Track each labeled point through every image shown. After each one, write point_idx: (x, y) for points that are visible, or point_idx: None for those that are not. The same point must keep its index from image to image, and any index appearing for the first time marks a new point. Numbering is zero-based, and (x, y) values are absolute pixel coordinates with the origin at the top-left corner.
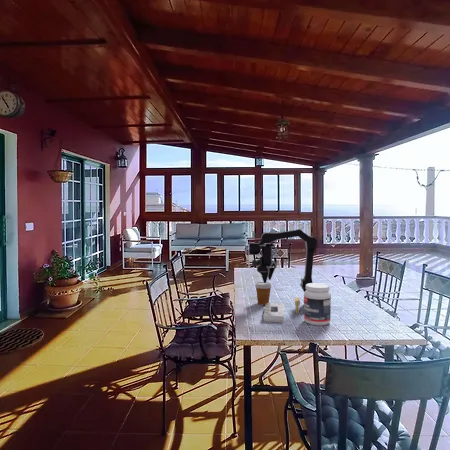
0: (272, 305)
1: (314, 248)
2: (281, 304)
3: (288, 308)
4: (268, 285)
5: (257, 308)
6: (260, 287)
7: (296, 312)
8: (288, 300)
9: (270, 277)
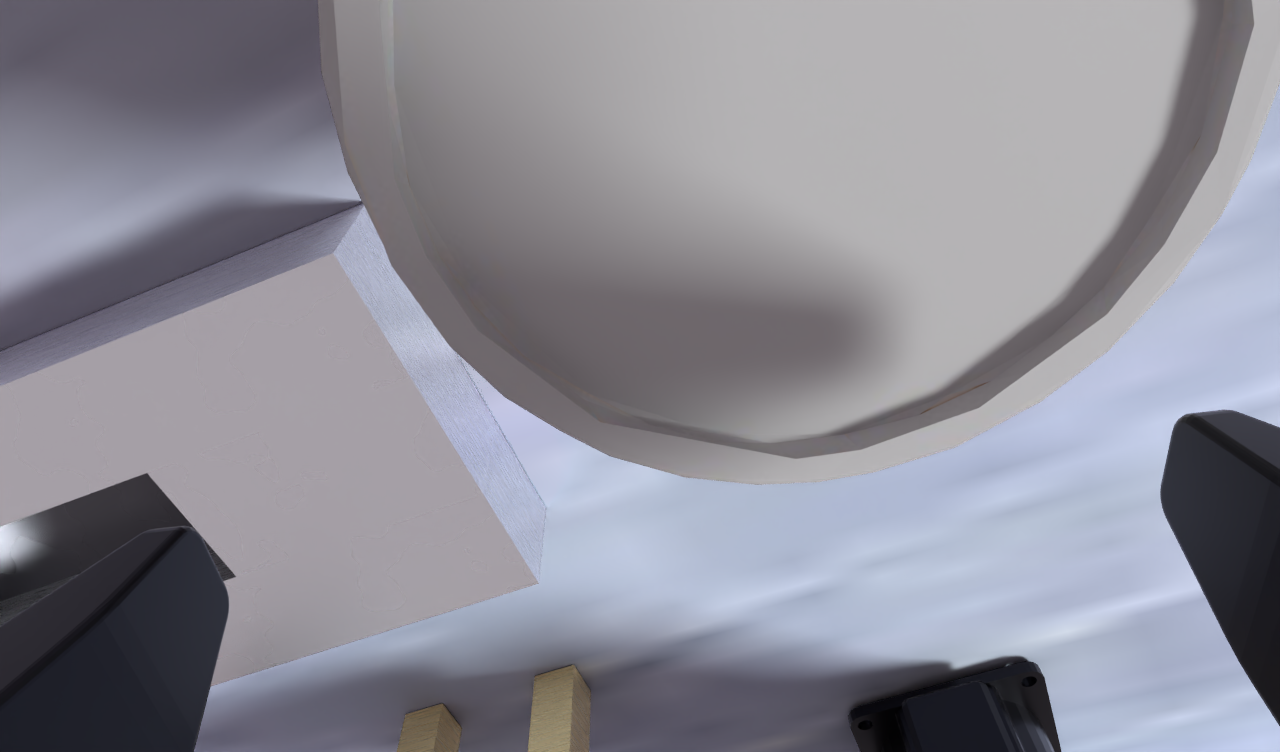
0: (234, 465)
1: None
2: (435, 572)
3: (618, 554)
4: (637, 446)
5: (200, 28)
6: (339, 123)
7: (405, 733)
8: (1221, 371)
9: (1244, 629)
